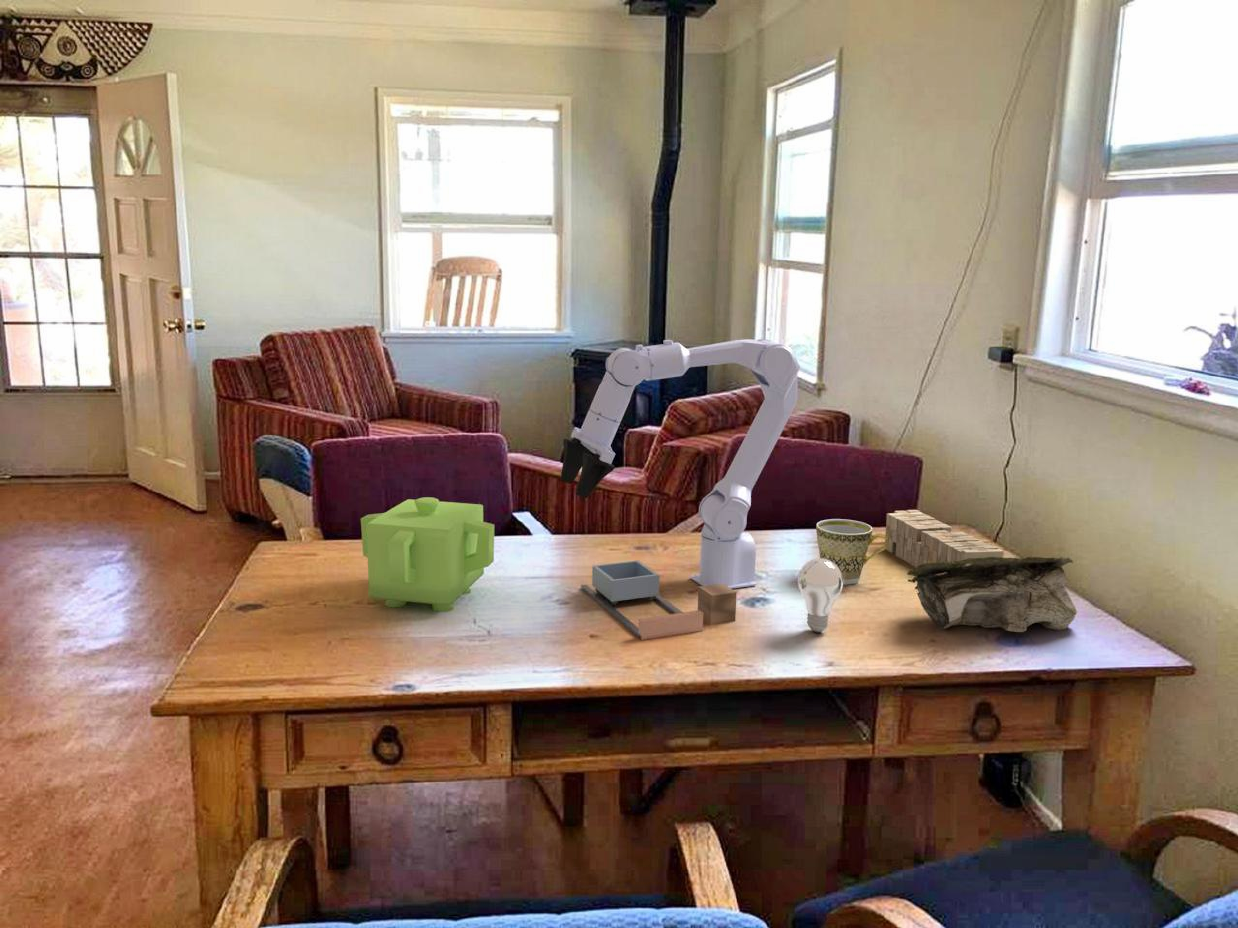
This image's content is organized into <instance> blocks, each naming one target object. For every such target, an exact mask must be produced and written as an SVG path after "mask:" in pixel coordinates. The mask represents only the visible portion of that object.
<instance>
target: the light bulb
mask: <svg viewBox="0 0 1238 928" xmlns="http://www.w3.org/2000/svg"><path fill="white" fill-rule="evenodd" d="M797 585H798V586H797V587H798V589H799V591H800V593H801V595H802V597H803V599H804V602H805V609H806V611H807V617H806V619H807V621H806V624H807V625H808V627H809V628H810V630H811V631H812V632H813V633H815V634H821V633H822V632H823V631H824V630H826V629H828V627H829V619H830V616H829V614H830V613H831V611H832V608H833V605H834V602H835V601H836V600H837V599H838V597H839V596H840V594H841V593H842V590H843V587H844V585H843V576H842V573H841V571H840V569H839V568H838V566H837V565H836V564H835V563H833V562H832V561H830V560H828V559H824V558H820V557H817V558H814V559H811V560H809V561H806V563H804V565H803V566H802V567H801V568H800V570H799V572H798V576H797Z"/></svg>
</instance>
